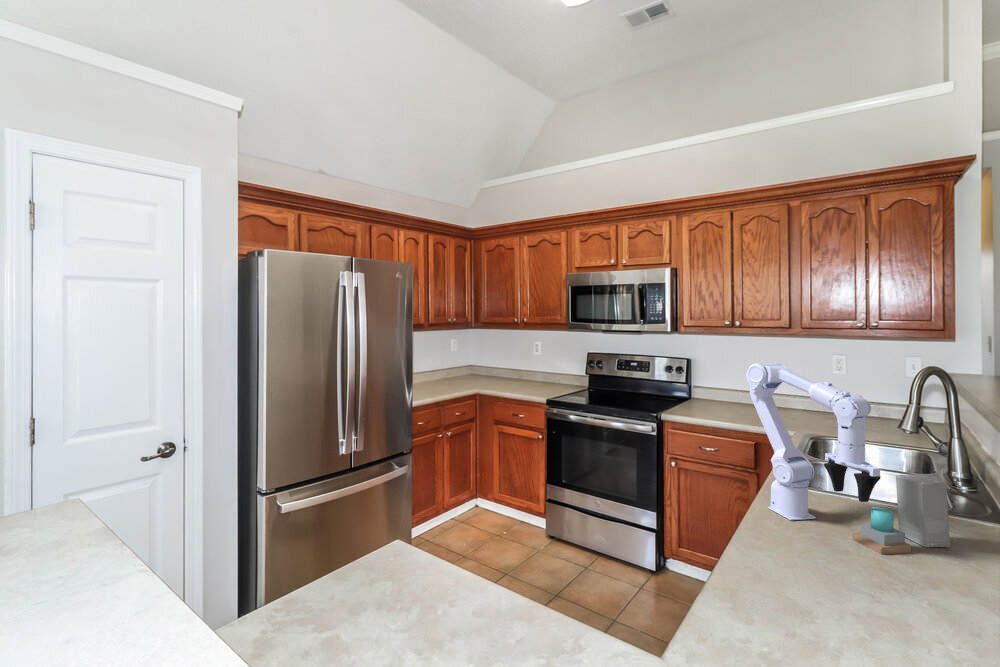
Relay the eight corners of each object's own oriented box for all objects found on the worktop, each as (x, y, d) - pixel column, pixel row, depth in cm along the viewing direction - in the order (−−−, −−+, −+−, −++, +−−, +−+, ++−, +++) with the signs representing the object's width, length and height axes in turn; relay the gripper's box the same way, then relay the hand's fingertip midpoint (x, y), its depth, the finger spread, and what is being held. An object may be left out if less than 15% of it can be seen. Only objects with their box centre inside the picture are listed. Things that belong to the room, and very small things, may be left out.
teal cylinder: (866, 525, 123) (866, 507, 123) (882, 524, 124) (882, 506, 124) (881, 532, 119) (881, 513, 119) (898, 532, 119) (898, 513, 119)
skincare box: (950, 548, 120) (952, 483, 119) (920, 548, 120) (922, 483, 119) (921, 533, 128) (922, 473, 128) (893, 533, 128) (894, 472, 128)
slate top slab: (861, 535, 123) (861, 525, 123) (881, 532, 125) (881, 523, 125) (884, 545, 118) (884, 535, 118) (904, 543, 119) (905, 533, 119)
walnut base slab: (852, 542, 125) (852, 533, 125) (880, 540, 126) (880, 530, 126) (881, 557, 117) (881, 547, 117) (910, 555, 118) (910, 544, 118)
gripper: (815, 437, 133) (814, 487, 133) (862, 451, 118) (861, 507, 119) (838, 436, 134) (837, 486, 134) (888, 450, 119) (887, 505, 120)
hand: (850, 496), depth 126 cm, fingers open, 7 cm apart
